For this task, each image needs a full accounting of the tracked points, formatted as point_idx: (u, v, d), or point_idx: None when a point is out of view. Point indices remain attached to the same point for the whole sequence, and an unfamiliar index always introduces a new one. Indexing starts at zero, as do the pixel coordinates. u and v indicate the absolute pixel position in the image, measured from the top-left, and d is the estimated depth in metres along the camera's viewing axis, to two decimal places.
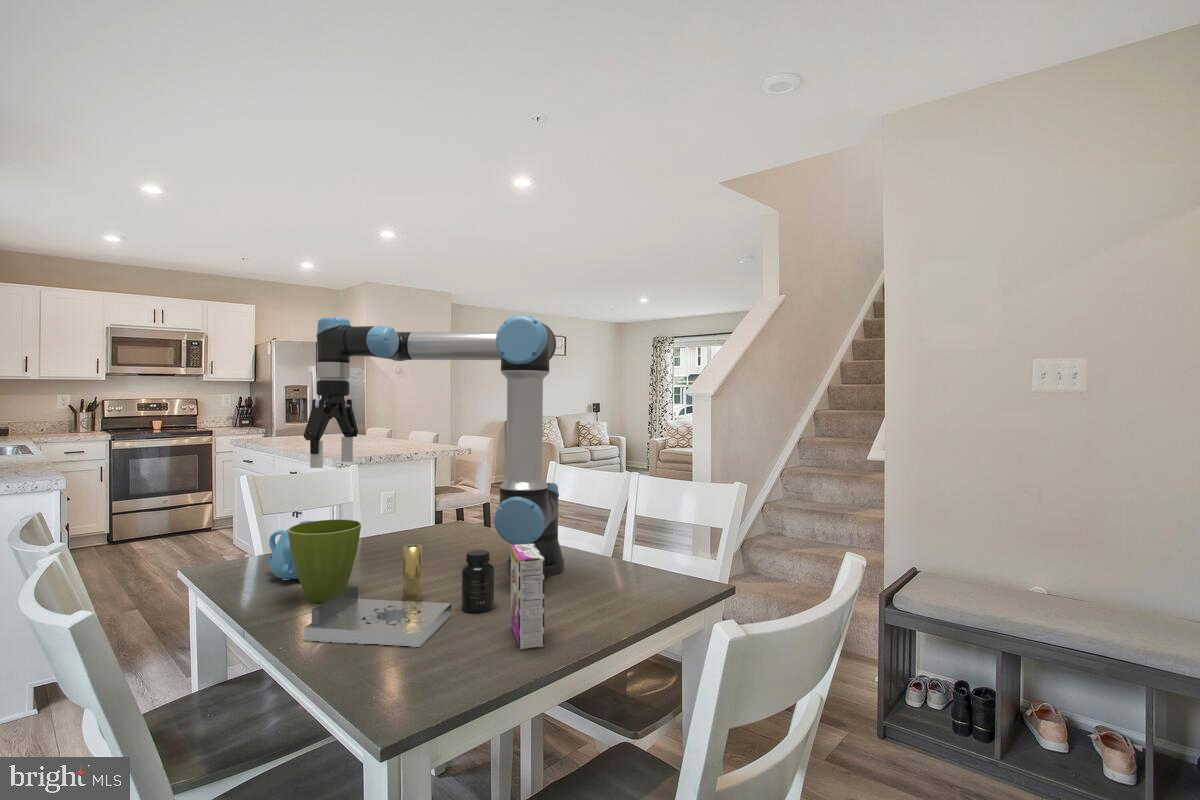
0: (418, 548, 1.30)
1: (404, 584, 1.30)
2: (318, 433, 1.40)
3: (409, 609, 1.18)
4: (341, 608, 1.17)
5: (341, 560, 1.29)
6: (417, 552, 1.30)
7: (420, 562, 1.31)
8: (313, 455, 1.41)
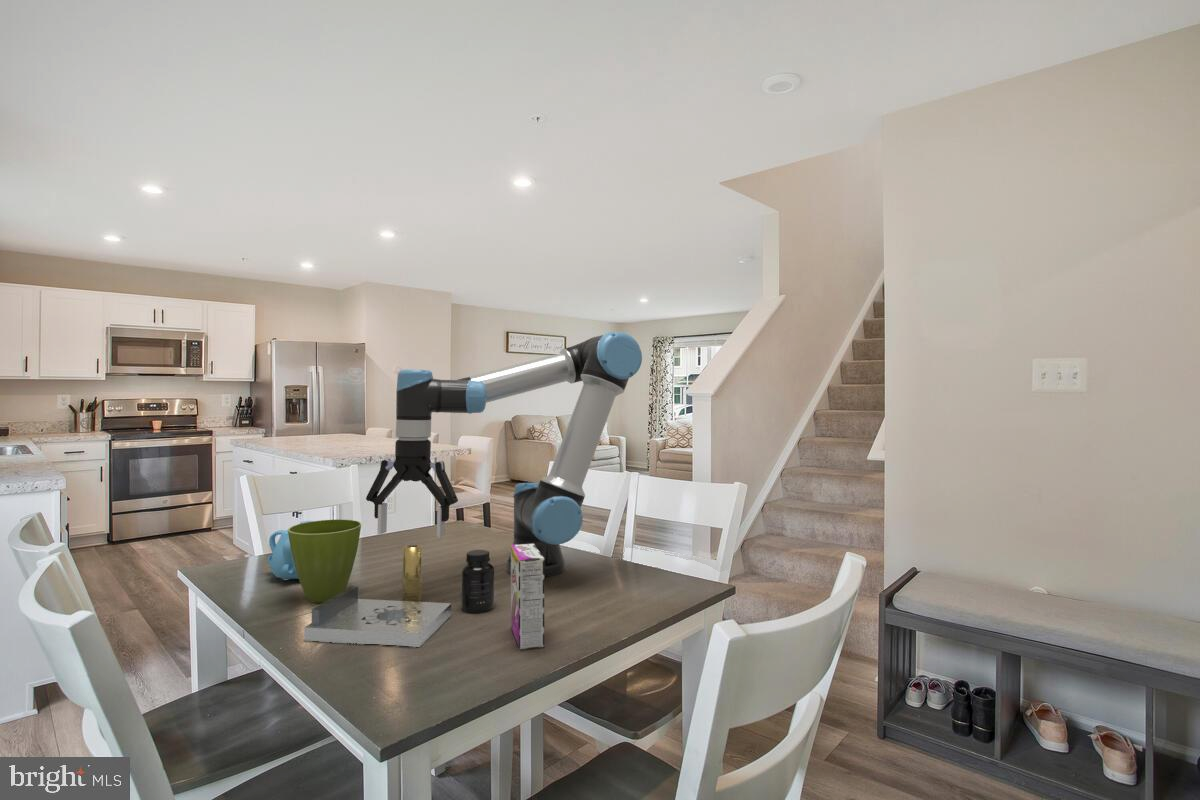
0: (418, 548, 1.30)
1: (404, 584, 1.30)
2: None
3: (409, 609, 1.18)
4: (341, 608, 1.17)
5: (341, 560, 1.29)
6: (417, 552, 1.30)
7: (420, 562, 1.31)
8: None
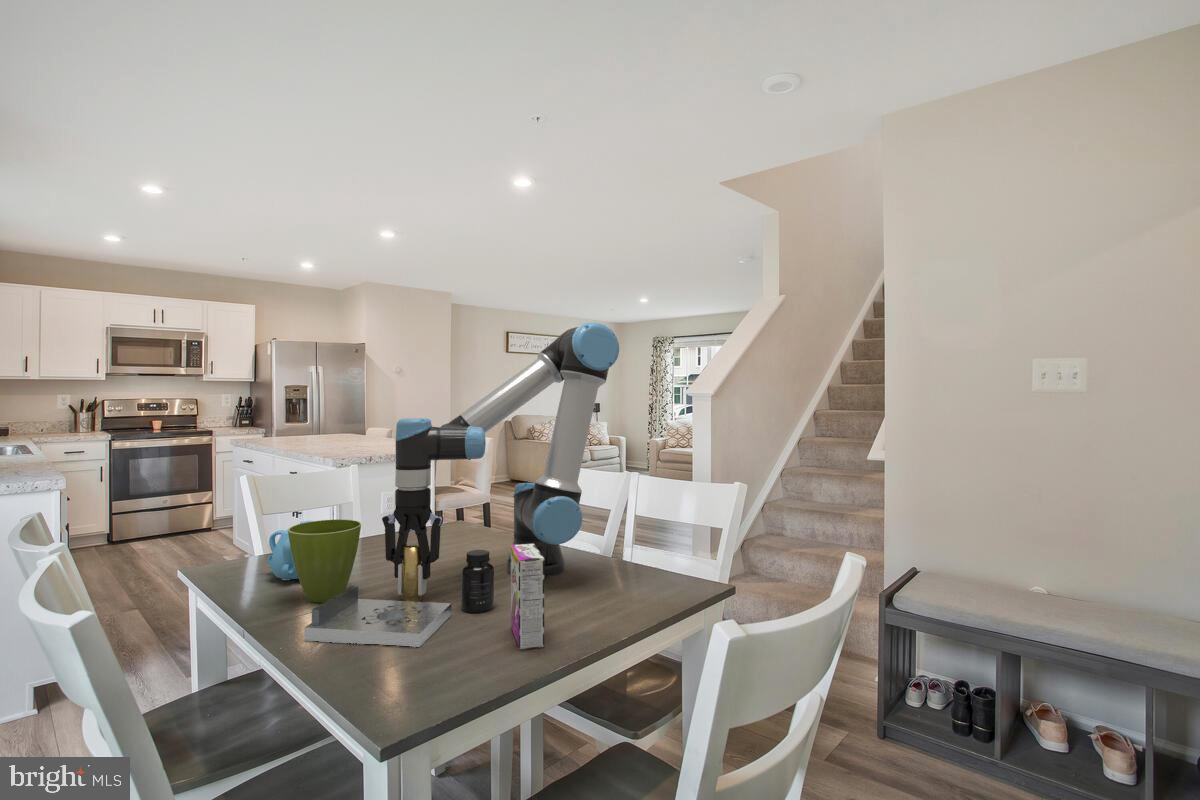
0: (418, 548, 1.30)
1: (404, 584, 1.30)
2: None
3: (409, 609, 1.18)
4: (341, 608, 1.17)
5: (341, 560, 1.29)
6: (417, 552, 1.30)
7: (420, 562, 1.31)
8: None
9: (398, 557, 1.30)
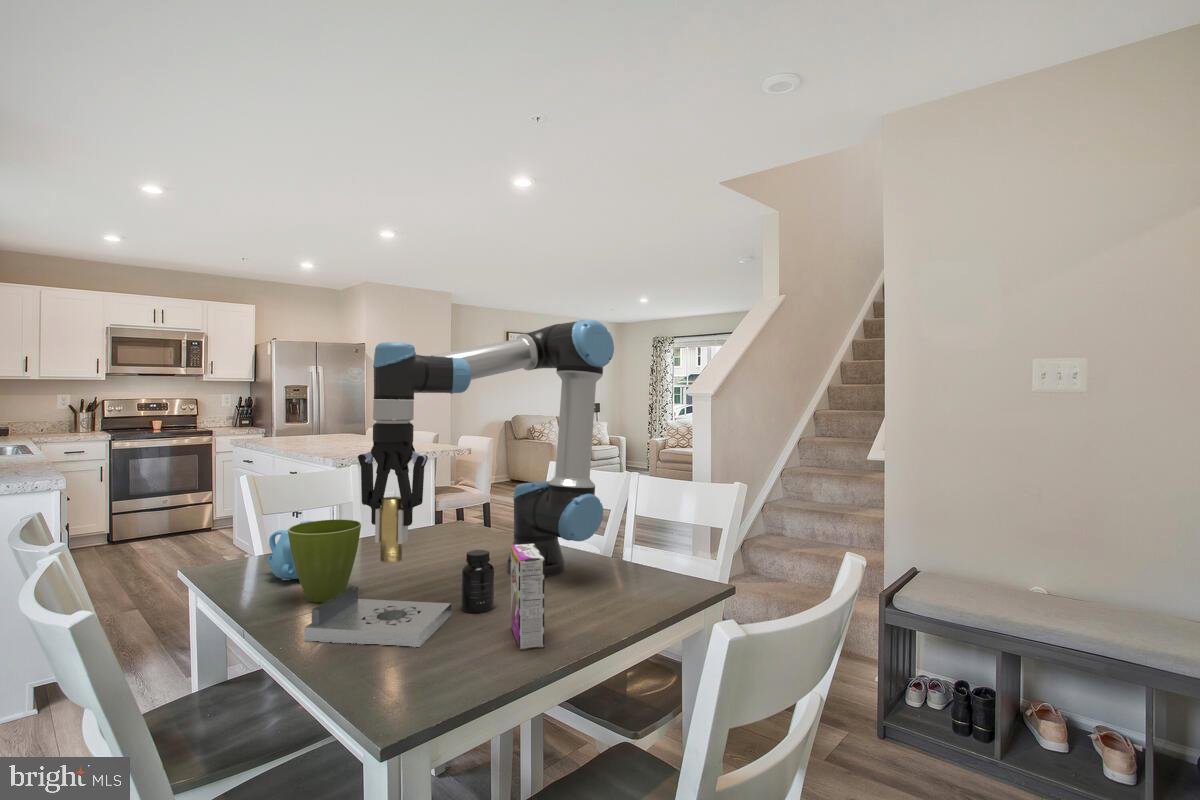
0: (398, 500, 1.14)
1: (381, 541, 1.14)
2: None
3: (409, 609, 1.18)
4: (341, 608, 1.17)
5: (341, 560, 1.29)
6: (397, 505, 1.14)
7: None
8: None
9: (376, 501, 1.14)
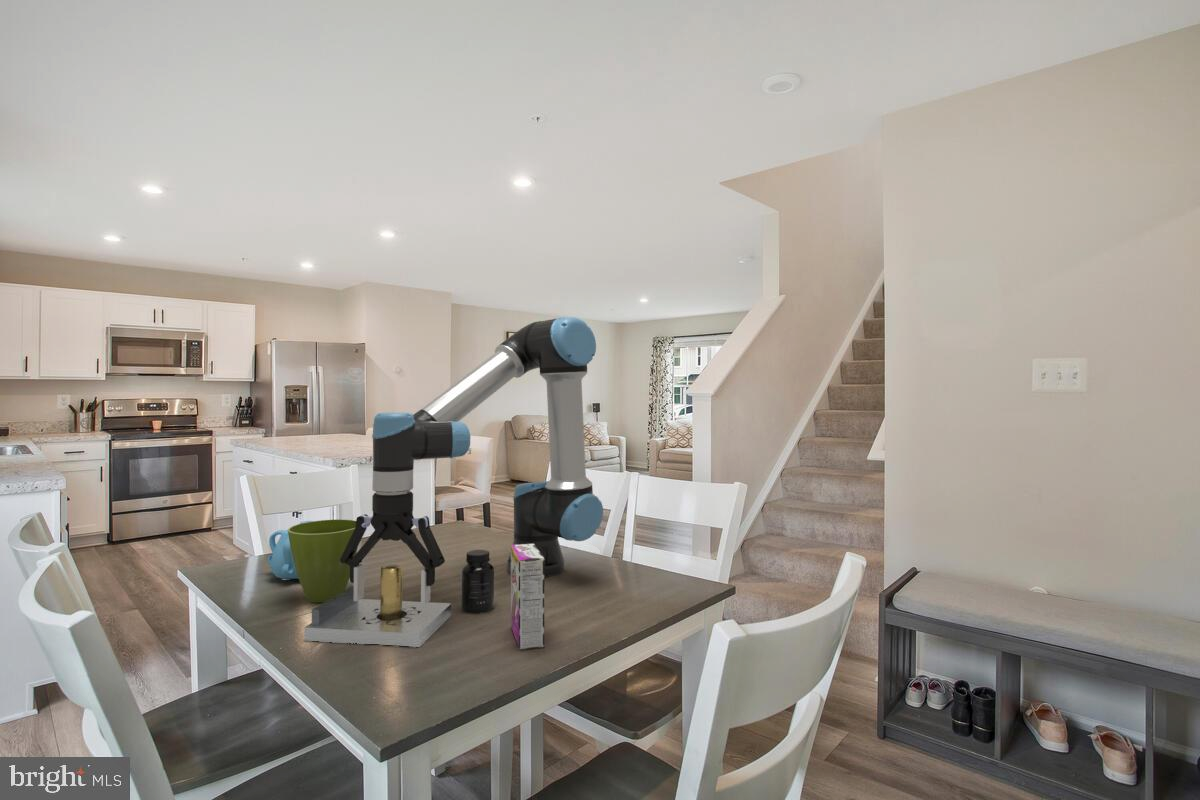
0: (398, 569, 1.14)
1: (381, 610, 1.13)
2: None
3: (409, 609, 1.18)
4: (341, 608, 1.17)
5: None
6: (396, 574, 1.14)
7: (400, 585, 1.14)
8: None
9: (355, 561, 1.15)
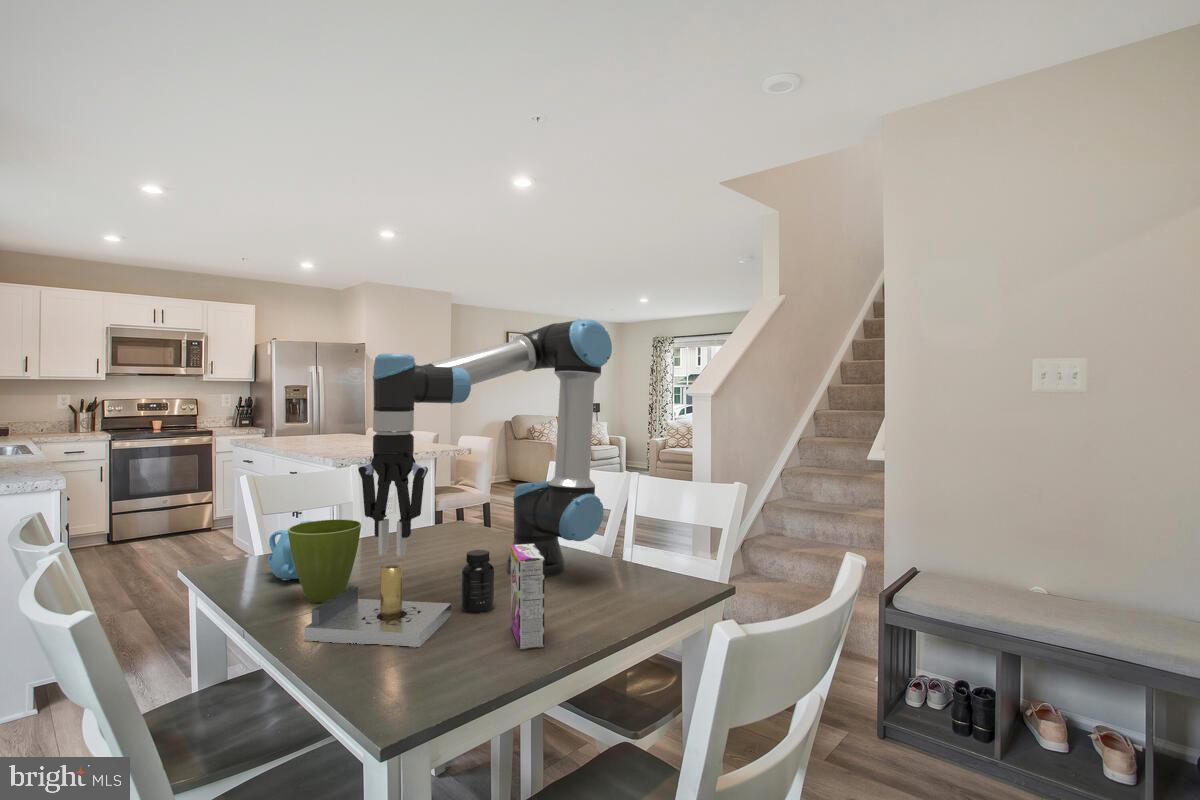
0: (398, 569, 1.14)
1: (381, 610, 1.13)
2: None
3: (409, 609, 1.18)
4: (341, 608, 1.17)
5: (341, 560, 1.29)
6: (396, 574, 1.14)
7: (400, 585, 1.15)
8: None
9: (378, 513, 1.14)
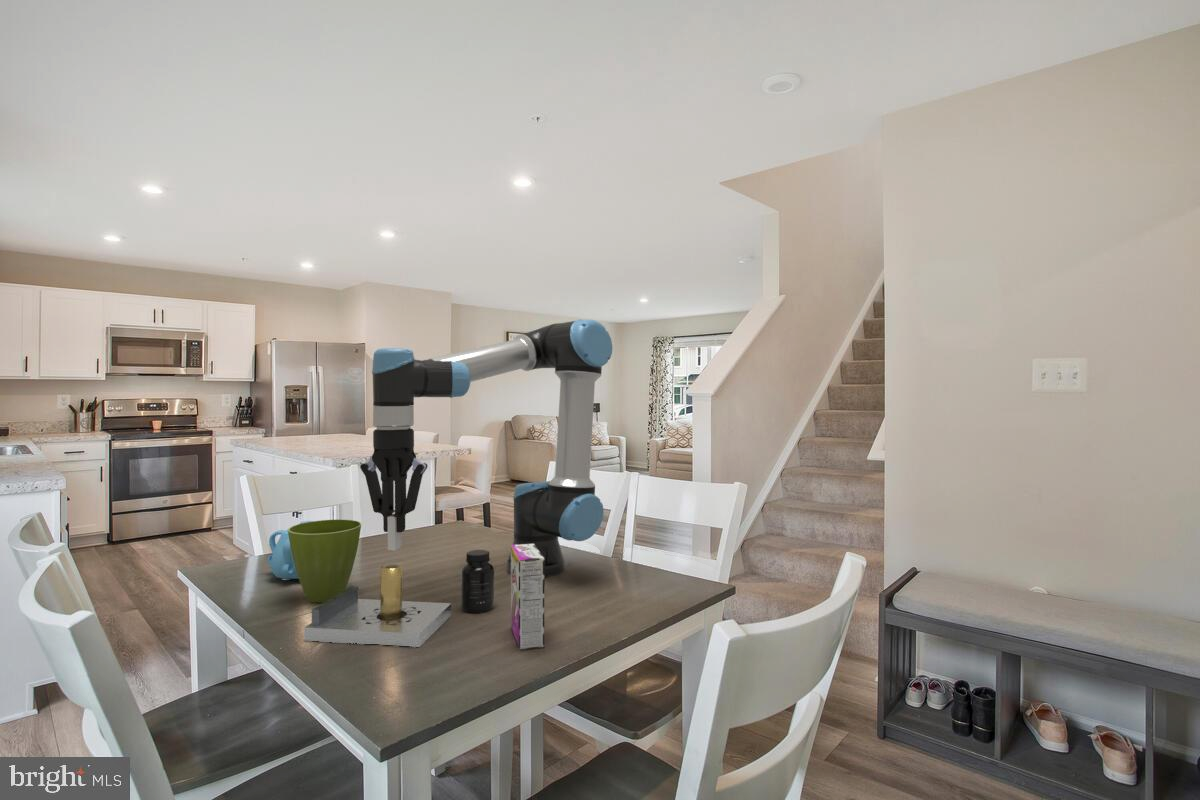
0: (398, 569, 1.14)
1: (381, 610, 1.13)
2: None
3: (409, 609, 1.18)
4: (341, 608, 1.17)
5: (341, 560, 1.29)
6: (396, 574, 1.14)
7: (400, 585, 1.15)
8: None
9: (386, 508, 1.14)
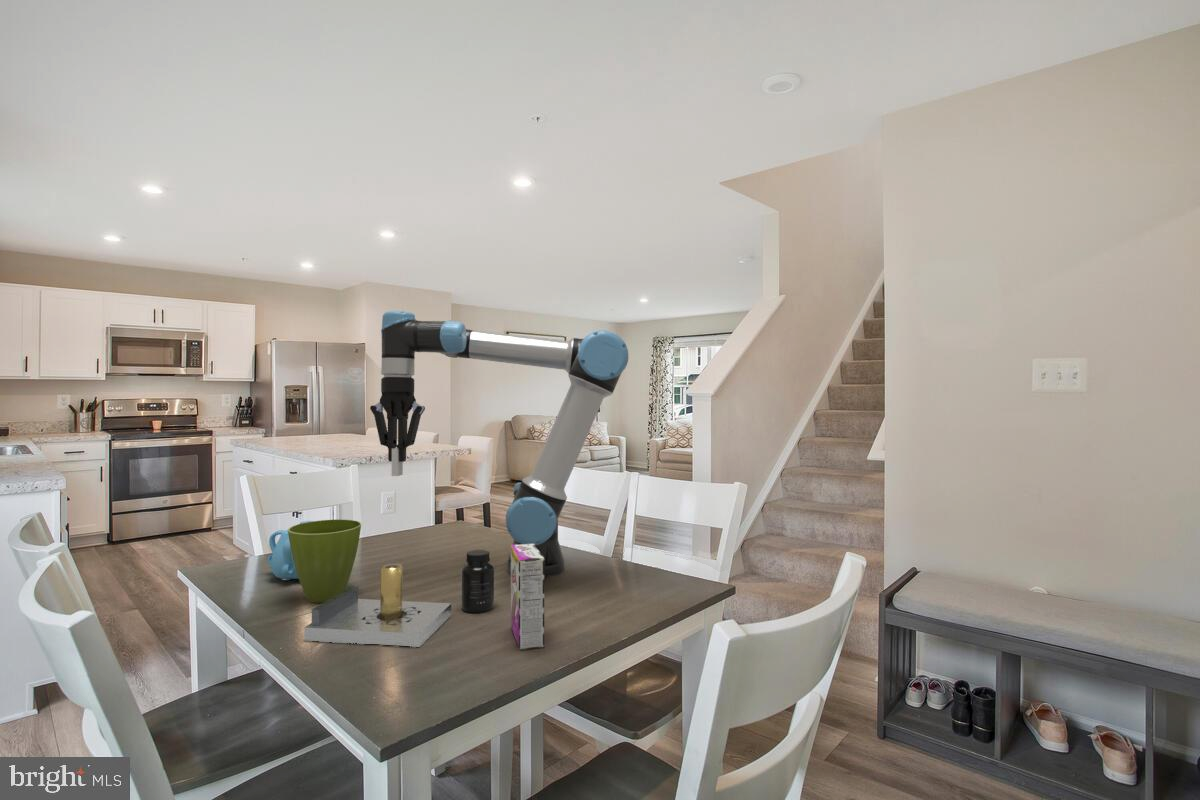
0: (398, 569, 1.14)
1: (381, 610, 1.13)
2: None
3: (409, 609, 1.18)
4: (341, 608, 1.17)
5: (341, 560, 1.29)
6: (396, 574, 1.14)
7: (400, 585, 1.15)
8: None
9: (391, 441, 1.40)
